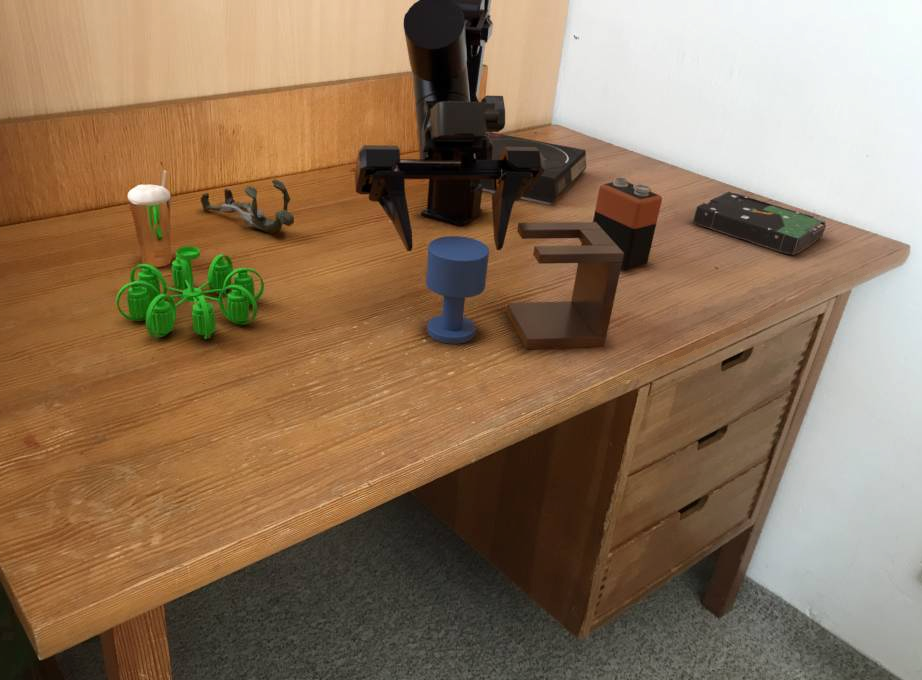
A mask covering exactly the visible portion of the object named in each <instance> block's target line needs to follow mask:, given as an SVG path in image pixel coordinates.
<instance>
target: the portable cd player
mask: <svg viewBox="0 0 922 680" xmlns="http://www.w3.org/2000/svg"><path fill="white" fill-rule="evenodd" d="M489 138H490V141H491V143H492V144H493V160H498V158H499V156H500V154H501V152H502V150H503V148H504V147H536V148H537V149H538V150H539V151H540V152H541V154H542V155H543V158H544V166H545V171H544V172H543V174H542V176H541V177H540V179H539V180H538V182H537V183H536V185H535V186H534V188H533V189H532V191H531V192H530V193H527V194H524V195H522V197H521V198H520V199H519V200H525V201H529V202H533V203H538V204H544V205H547V206H552V204H553V203H554V202H556V200H558V199H559V198H560V197H561V195H562V194H564V193H565V191H567V190H568V189H569V188H570V187H571V186H572V185H573V184H574V182H576V180H578V179H579V178H580V177H581V176H582V175H583V173H584V172H585V170H586V169H587V154H586V153H587V152H586V149H582V148H577V147H571V146H566V145H561V144H557V143H556V144H555V143H551V142H545V141H539V140H535V139H529V138H524V137H518V136H513V135H507V134H502V133H498V132H489ZM480 184H481V185H482V186H483V187H482V192H486V193H492V194H494V193H495V191H496V190H495V189H494V188H493V181H492V179H480Z"/></svg>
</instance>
